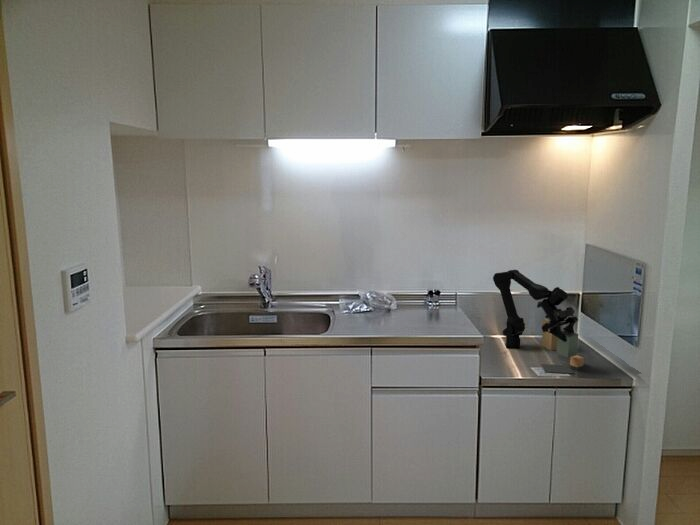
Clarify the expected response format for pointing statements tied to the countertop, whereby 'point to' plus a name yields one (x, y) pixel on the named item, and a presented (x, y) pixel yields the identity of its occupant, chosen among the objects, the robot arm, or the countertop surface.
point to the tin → (568, 344)
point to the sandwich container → (549, 339)
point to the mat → (557, 369)
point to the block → (576, 361)
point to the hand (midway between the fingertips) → (570, 340)
